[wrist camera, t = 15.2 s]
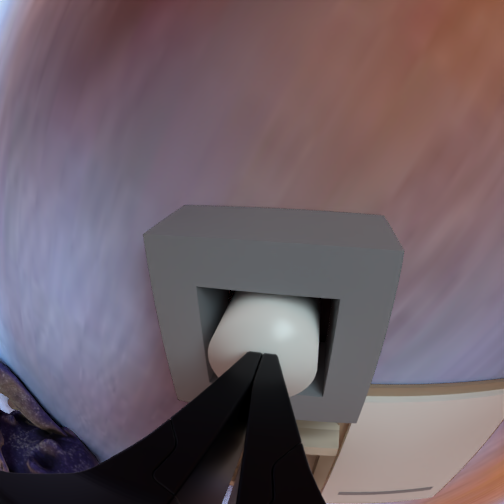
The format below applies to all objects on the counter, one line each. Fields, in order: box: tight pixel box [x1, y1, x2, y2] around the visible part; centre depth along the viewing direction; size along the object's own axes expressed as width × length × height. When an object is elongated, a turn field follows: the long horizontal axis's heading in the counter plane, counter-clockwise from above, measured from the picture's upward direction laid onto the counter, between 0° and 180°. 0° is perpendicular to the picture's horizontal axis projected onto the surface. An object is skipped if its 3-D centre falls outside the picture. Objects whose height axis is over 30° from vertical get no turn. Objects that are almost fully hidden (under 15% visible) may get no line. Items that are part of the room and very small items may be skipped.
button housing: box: [143, 205, 404, 423], centre depth 11 cm, size 7×7×3 cm
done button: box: [208, 291, 321, 397], centre depth 10 cm, size 3×3×3 cm
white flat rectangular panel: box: [320, 378, 504, 504], centre depth 15 cm, size 11×15×1 cm
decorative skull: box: [0, 362, 99, 474], centre depth 20 cm, size 12×18×20 cm
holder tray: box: [229, 420, 339, 491], centre depth 16 cm, size 7×7×2 cm
